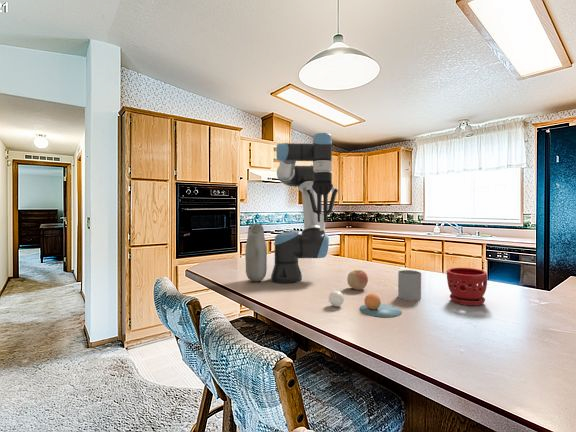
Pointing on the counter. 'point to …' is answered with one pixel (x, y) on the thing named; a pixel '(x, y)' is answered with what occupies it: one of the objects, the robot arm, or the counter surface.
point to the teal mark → (382, 311)
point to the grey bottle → (256, 253)
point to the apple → (357, 279)
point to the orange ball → (372, 301)
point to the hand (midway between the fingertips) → (322, 230)
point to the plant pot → (467, 285)
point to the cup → (409, 285)
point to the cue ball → (336, 298)
